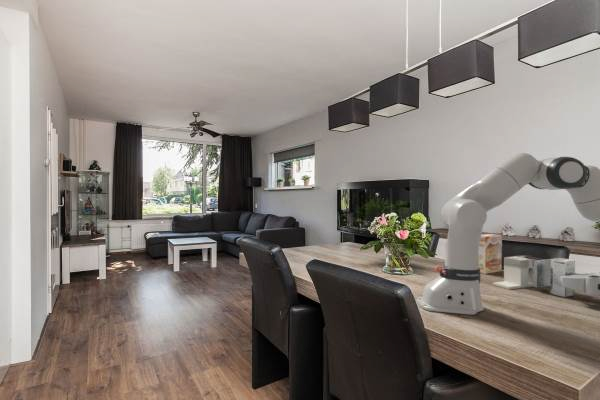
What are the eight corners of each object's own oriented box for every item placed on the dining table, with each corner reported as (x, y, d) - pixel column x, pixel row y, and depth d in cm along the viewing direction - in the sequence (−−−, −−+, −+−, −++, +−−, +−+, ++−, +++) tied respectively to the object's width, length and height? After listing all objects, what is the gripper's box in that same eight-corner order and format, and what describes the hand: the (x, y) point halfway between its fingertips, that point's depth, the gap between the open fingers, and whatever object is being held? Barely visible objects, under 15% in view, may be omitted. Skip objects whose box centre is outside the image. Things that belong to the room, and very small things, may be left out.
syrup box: (559, 292, 137) (559, 257, 137) (575, 296, 131) (575, 260, 131) (549, 293, 135) (550, 258, 135) (565, 297, 129) (565, 261, 129)
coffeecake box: (485, 274, 169) (485, 236, 169) (472, 271, 175) (472, 235, 175) (502, 271, 176) (502, 234, 176) (489, 268, 183) (489, 233, 183)
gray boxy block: (556, 284, 141) (556, 259, 141) (537, 287, 137) (537, 260, 137) (532, 279, 150) (532, 255, 150) (513, 281, 146) (513, 256, 146)
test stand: (550, 284, 150) (550, 257, 150) (509, 289, 141) (509, 260, 141) (533, 279, 157) (533, 254, 157) (492, 284, 149) (492, 257, 149)
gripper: (623, 273, 123) (581, 266, 136) (587, 278, 116) (547, 269, 129) (623, 290, 123) (581, 281, 136) (587, 295, 116) (546, 285, 129)
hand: (564, 275), depth 132 cm, fingers open, 8 cm apart
